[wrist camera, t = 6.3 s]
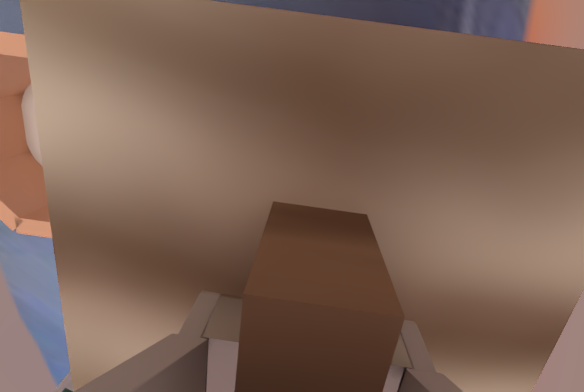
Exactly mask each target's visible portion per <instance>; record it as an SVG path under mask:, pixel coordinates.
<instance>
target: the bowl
mask: <svg viewBox="0 0 584 392" xmlns="http://www.w3.org/2000/svg"><path fill="white" fill-rule="evenodd" d="M0 220H1V221H3V222H4V223H5V224H6V225H7V226H8V227H9V228H10V229H11V230H12V231H14V230H17V233H20V234H27V235H34V236H41V237H48V238H52V232H51V225H50V217H49V210H48V203H47V195H46V188H45V181H44V174H43V166H42V159H41V152H40V144H39V137H38V130H37V123H36V115H35V108H34V101H33V93H32V86H31V79H30V72H29V64H28V57H27V50H26V42H25V35H22V34H15V33H7V32H0Z"/></svg>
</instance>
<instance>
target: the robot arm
mask: <svg viewBox="0 0 584 392" xmlns="http://www.w3.org/2000/svg"><path fill="white" fill-rule="evenodd" d="M242 303H243V297H240V296H234V295H228V294H220V293H215V292H208V291H202V292H201V293H200V294H199V295H198V297H197V299H196V301H195V303H194V305H193V307H192V308H191V310H190V312H189V314H188V316H187V318H186V320H185V322H184V324H183V325H182V327H181V329H180V331H179V333H178V334H170V335H169V336H167V337H165V338H163V339H162V340H160V341H158V342H157V343H155V344H153V345H152V346H150V347H148V348H147V349H145V350H143V351H141V352H140V353H138V354H136V355H135V356H133V357H131V358H130V359H128V360H126V361H124V362H123V363H121V364H119V365H118V366H116V367H114V368H113V369H111V370H109V371H108V372H106V373H104V374H102V375H101V376H99V377H97V378H96V379H94V380H92V381H91V382H89V383H87V384H86V385H84V386H82V387H80V388H79V389H77V390H75V391H74V392H235V381H236V369H237V358H238V347H239V336H240V325H241V314H242ZM383 392H463V391H462V390H461V389H460V388H458V387H457V386H456V385H455V384H454V383H453V382H452V381H451V380H450V379H448V378H447V377H446V376H445V375H444V374H442V373H437V372H436V369H435V367H434V365H433V362H432V360H431V357H430V355H429V353H428V350H427V348H426V345H425V343H424V341H423V338H422V336H421V333H420V331H419V329H418V326H417V324H416V323H415V322H414V321H408V320H404V322H403V325H402V329H401V332H400V335H399V339H398V342H397V345H396V349H395V352H394V355H393V359H392V362H391V365H390V369H389V372H388V375H387V379H386V382H385V385H384V389H383Z"/></svg>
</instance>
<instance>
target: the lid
mask: <svg viewBox="0 0 584 392" xmlns="http://www.w3.org/2000/svg"><path fill="white" fill-rule="evenodd" d="M20 6H21V13H22V21H23V28H24V35H25V42H26V50H27V57H28V64H29V72H30V79H31V86H32V93H33V101H34V108H35V115H36V123H37V130H38V137H39V144H40V152H41V159H42V166H43V174H44V181H45V188H46V195H47V203H48V210H49V217H50V225H51V232H52V239H53V246H54V254H55V261H56V268H57V276H58V283H59V290H60V297H61V305H62V312H63V319H64V327H65V334H66V341H67V348H68V356H69V363H70V370H71V377H72V385H73V392H74V391H75V390H77V389H79V388H80V387H82V386H84V385H86V384H87V383H89V382H91V381H92V380H94V379H96V378H97V377H99V376H101V375H102V374H104V373H106V372H108V371H109V370H111V369H113V368H114V367H116V366H118V365H119V364H121V363H123V362H124V361H126V360H128V359H130V358H131V357H133V356H135V355H136V354H138V353H140V352H141V351H143V350H145V349H147V348H148V347H150V346H152V345H153V344H155V343H157V342H158V341H160V340H162V339H163V338H165V337H167V336H169V335H170V334H178V333H179V331H180V329H181V327H182V325H183V324H184V322H185V320H186V318H187V316H188V314H189V312H190V310H191V308H192V307H193V305H194V303H195V301H196V299H197V297H198V295H199V294H200V293H201V292H202V291H208V292H215V293H220V294H228V295H234V296H240V297H243V303H242V314H241V325H240V336H239V347H238V358H237V369H236V381H235V392H383V389H384V385H385V382H386V379H387V375H388V372H389V369H390V365H391V362H392V359H393V355H394V352H395V349H396V345H397V342H398V339H399V335H400V332H401V329H402V325H403V322H404V320H408V321H414V322H415V323H416V324H417V326H418V329H419V331H420V333H421V336H422V338H423V341H424V343H425V345H426V348H427V350H428V353H429V355H430V357H431V360H432V362H433V365H434V367H435V369H436V372H437V373H442V374H444V375H445V376H446V377H447V378H448V379H450V380H451V381H452V382H453V383H454V384H455V385H456V386H457V387H458V388H460V389H461V390H462V391H463V392H532V390H533V388H534V386H535V384H536V382H537V380H538V378H539V376H540V374H541V372H542V370H543V368H544V366H545V364H546V362H547V360H548V358H549V356H550V354H551V353H552V350H553V348H554V347H555V345H556V343H557V341H558V339H559V337H560V335H561V333H562V331H563V329H564V327H565V325H566V323H567V321H568V319H569V317H570V315H571V313H572V311H573V309H574V307H575V305H576V303H577V301H578V300H579V298H580V295H581V294H582V292H583V290H584V49H577V48H569V47H562V46H554V45H546V44H539V43H531V42H524V41H516V40H509V39H501V38H493V37H486V36H478V35H471V34H463V33H455V32H448V31H440V30H432V29H425V28H417V27H410V26H402V25H394V24H387V23H379V22H372V21H364V20H356V19H349V18H341V17H333V16H326V15H318V14H311V13H303V12H295V11H288V10H280V9H273V8H265V7H257V6H250V5H242V4H234V3H227V2H219V1H212V0H20Z"/></svg>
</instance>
